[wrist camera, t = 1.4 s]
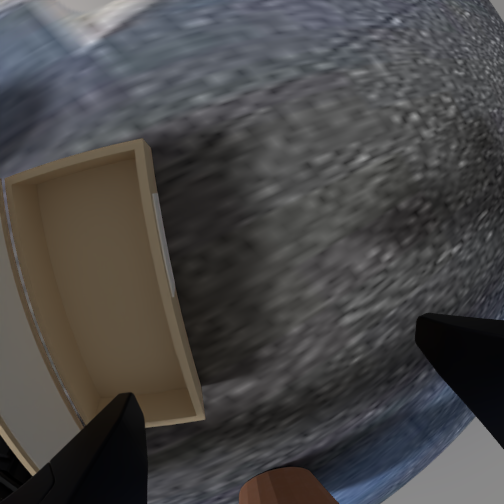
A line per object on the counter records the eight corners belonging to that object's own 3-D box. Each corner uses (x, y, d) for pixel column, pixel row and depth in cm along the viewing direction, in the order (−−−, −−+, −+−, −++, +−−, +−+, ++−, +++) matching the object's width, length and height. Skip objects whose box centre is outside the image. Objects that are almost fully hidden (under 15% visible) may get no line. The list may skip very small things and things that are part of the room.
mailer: (202, 386, 22) (206, 419, 18) (98, 399, 21) (89, 430, 17) (152, 148, 18) (144, 137, 14) (33, 179, 17) (4, 178, 13)
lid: (87, 523, 9) (79, 524, 9) (88, 432, 17) (81, 433, 17) (-79, 168, 5) (-88, 173, 5) (2, 178, 13) (-6, 181, 12)
